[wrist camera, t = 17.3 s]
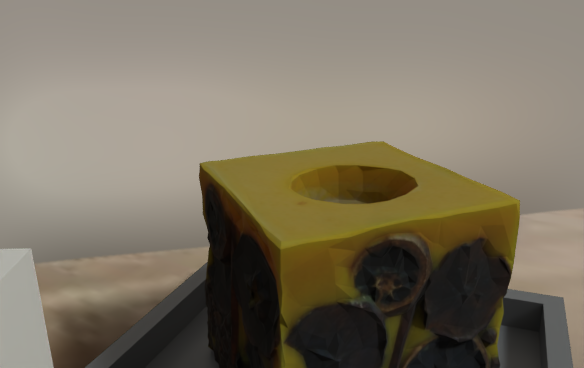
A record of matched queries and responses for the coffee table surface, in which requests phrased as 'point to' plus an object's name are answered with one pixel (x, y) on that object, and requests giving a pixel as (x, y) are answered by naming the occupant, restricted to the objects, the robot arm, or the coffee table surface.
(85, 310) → the coffee table surface
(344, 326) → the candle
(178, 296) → the tray
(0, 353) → the robot arm
